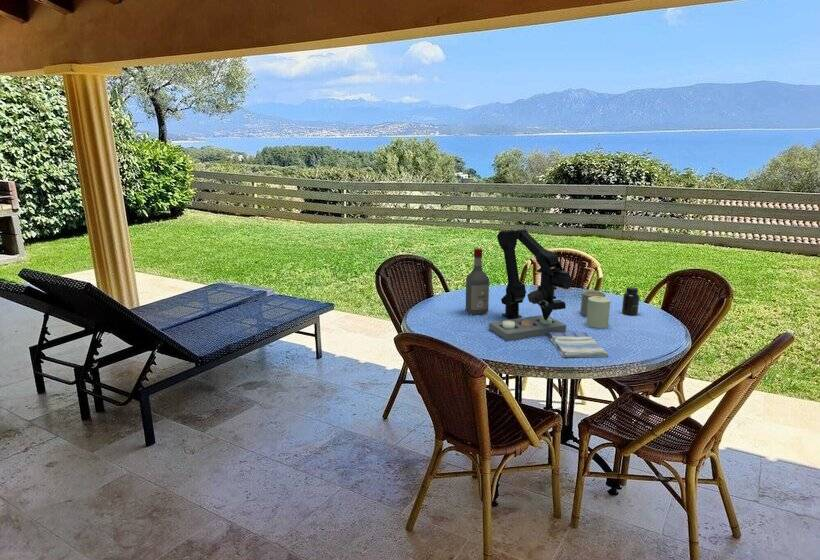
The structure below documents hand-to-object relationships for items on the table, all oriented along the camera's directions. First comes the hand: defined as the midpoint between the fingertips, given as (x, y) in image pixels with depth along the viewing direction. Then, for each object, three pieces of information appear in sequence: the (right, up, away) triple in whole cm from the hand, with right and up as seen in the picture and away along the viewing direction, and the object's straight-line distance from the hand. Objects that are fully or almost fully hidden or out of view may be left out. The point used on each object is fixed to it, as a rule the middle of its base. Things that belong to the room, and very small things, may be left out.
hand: (545, 319), depth 224 cm
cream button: (-17, -4, -6) cm, 18 cm away
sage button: (0, -3, +1) cm, 3 cm away
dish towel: (+7, -10, -19) cm, 23 cm away
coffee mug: (+26, +1, +19) cm, 32 cm away
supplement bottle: (+43, +1, +18) cm, 47 cm away
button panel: (-8, -4, -2) cm, 10 cm away
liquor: (-26, +1, +22) cm, 35 cm away
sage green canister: (+23, -3, +4) cm, 24 cm away
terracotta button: (-8, -4, -2) cm, 9 cm away
